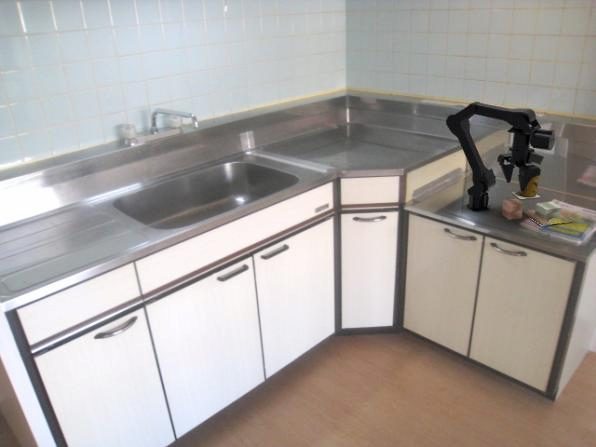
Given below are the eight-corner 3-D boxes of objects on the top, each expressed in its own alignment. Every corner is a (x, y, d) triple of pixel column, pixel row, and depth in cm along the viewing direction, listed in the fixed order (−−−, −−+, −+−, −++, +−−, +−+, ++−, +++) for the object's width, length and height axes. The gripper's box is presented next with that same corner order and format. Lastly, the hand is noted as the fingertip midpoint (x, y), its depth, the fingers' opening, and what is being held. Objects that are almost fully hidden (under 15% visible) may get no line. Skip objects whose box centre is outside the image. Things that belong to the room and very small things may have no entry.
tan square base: (541, 226, 178) (543, 214, 176) (522, 213, 189) (524, 201, 187) (572, 222, 180) (574, 209, 178) (551, 209, 190) (553, 197, 188)
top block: (508, 219, 185) (510, 205, 183) (501, 214, 190) (503, 200, 187) (521, 218, 186) (523, 203, 183) (514, 213, 190) (516, 198, 188)
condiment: (540, 197, 202) (544, 169, 197) (520, 199, 201) (524, 171, 196) (530, 190, 208) (534, 163, 203) (511, 193, 208) (514, 165, 203)
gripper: (558, 150, 169) (551, 193, 175) (526, 136, 185) (521, 176, 192) (528, 154, 167) (522, 197, 174) (498, 139, 184) (494, 179, 191)
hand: (515, 186), depth 183 cm, fingers open, 9 cm apart
